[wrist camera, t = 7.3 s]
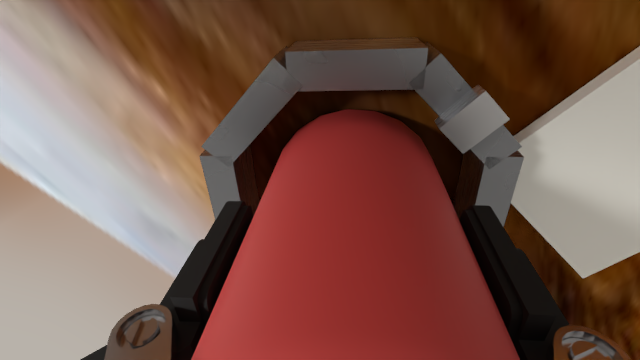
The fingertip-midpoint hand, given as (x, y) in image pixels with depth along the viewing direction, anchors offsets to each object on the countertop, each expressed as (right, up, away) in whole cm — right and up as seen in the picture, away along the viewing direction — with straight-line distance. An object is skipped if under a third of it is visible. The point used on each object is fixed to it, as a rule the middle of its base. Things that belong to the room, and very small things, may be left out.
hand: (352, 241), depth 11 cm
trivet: (+11, +3, +2) cm, 11 cm away
